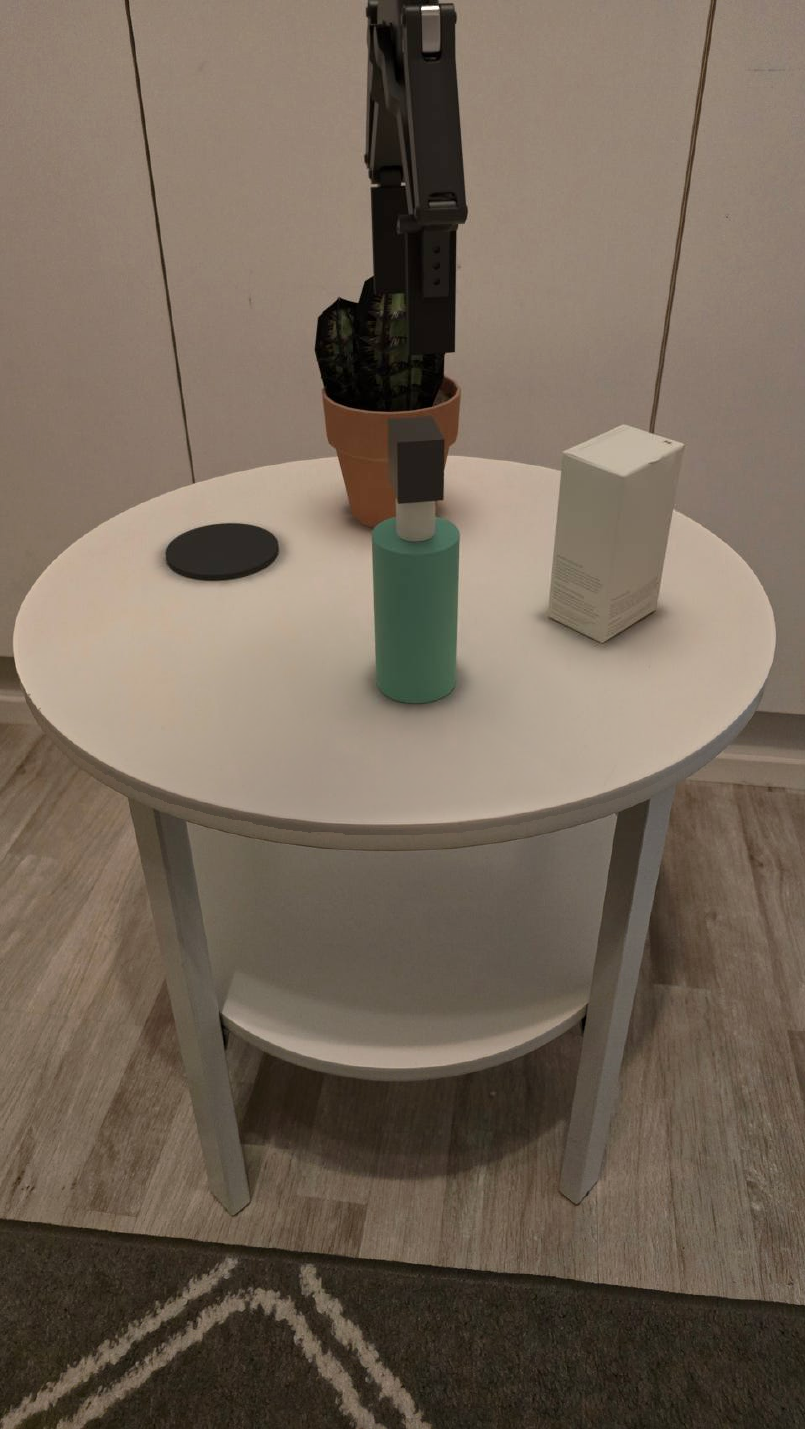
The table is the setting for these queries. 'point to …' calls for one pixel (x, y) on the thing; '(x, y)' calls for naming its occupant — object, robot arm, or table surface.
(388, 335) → the potted plant
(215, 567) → the black round coaster
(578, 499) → the cosmetic box
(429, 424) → the spray bottle
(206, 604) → the table surface
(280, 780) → the table surface
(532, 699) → the table surface
